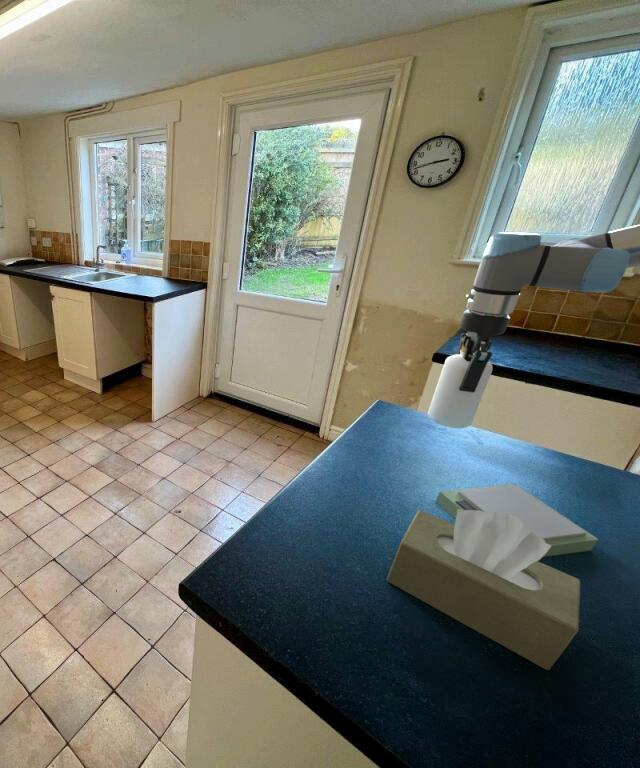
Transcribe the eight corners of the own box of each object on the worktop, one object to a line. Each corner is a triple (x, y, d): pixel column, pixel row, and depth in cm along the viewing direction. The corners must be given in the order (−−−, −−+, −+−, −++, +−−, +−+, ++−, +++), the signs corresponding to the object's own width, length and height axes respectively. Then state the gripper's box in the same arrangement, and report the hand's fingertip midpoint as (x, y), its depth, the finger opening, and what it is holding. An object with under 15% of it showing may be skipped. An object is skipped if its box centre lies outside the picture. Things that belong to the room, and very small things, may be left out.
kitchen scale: (509, 493, 80) (515, 480, 79) (591, 550, 68) (600, 536, 66) (435, 501, 78) (440, 488, 77) (505, 561, 66) (513, 547, 64)
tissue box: (556, 621, 57) (614, 536, 50) (551, 674, 51) (617, 585, 44) (402, 544, 69) (432, 467, 62) (383, 580, 63) (414, 499, 56)
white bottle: (432, 408, 102) (455, 339, 94) (473, 421, 96) (502, 348, 88) (421, 420, 97) (445, 348, 89) (465, 434, 91) (495, 358, 83)
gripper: (456, 301, 93) (426, 394, 103) (474, 320, 80) (438, 424, 90) (498, 304, 90) (463, 400, 100) (524, 324, 77) (480, 431, 87)
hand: (451, 411), depth 95 cm, fingers open, 2 cm apart
